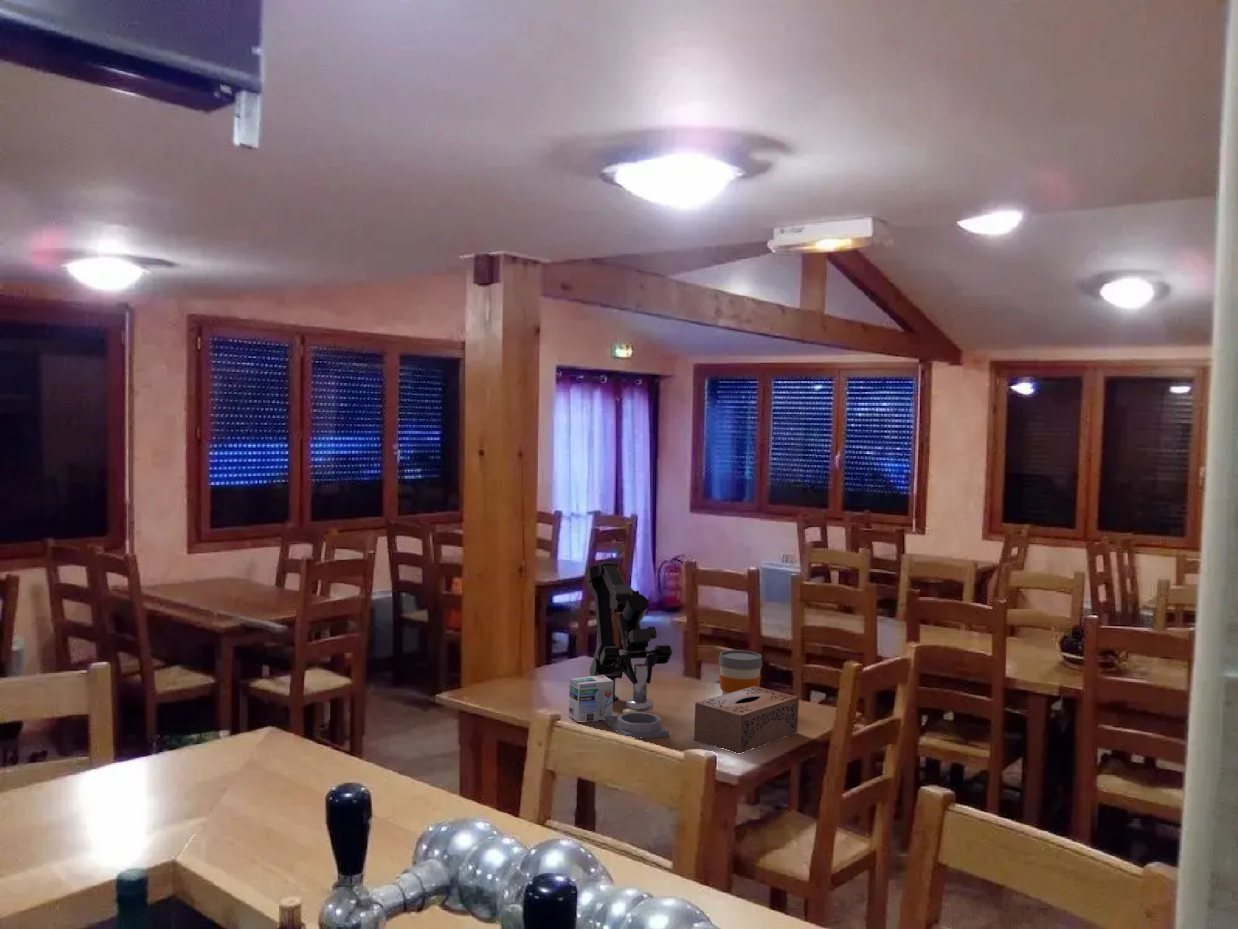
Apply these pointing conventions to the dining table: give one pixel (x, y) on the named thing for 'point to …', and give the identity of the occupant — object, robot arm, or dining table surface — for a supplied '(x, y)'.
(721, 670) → the reusable coffee cup
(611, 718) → the carrier plate
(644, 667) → the metal flanged shaft
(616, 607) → the robot arm
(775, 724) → the tissue box cover
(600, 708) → the light bulb box
